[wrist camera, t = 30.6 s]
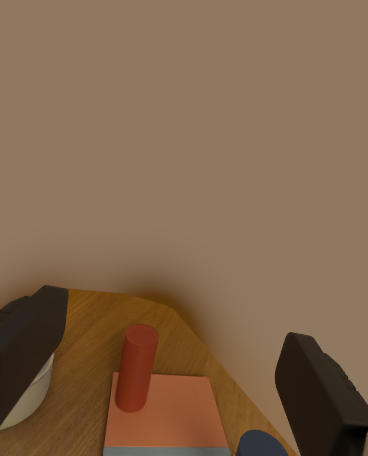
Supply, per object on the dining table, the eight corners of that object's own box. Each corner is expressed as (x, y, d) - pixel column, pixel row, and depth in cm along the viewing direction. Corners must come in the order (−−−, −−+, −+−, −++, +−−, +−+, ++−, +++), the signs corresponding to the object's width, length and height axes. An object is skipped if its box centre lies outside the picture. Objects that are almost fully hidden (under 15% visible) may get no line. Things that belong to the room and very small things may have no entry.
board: (207, 381, 49) (208, 376, 48) (264, 587, 26) (267, 580, 26) (112, 376, 46) (113, 371, 46) (82, 604, 23) (84, 596, 23)
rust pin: (146, 387, 44) (158, 325, 41) (146, 413, 39) (159, 346, 37) (116, 385, 43) (126, 322, 40) (113, 412, 39) (124, 343, 36)
